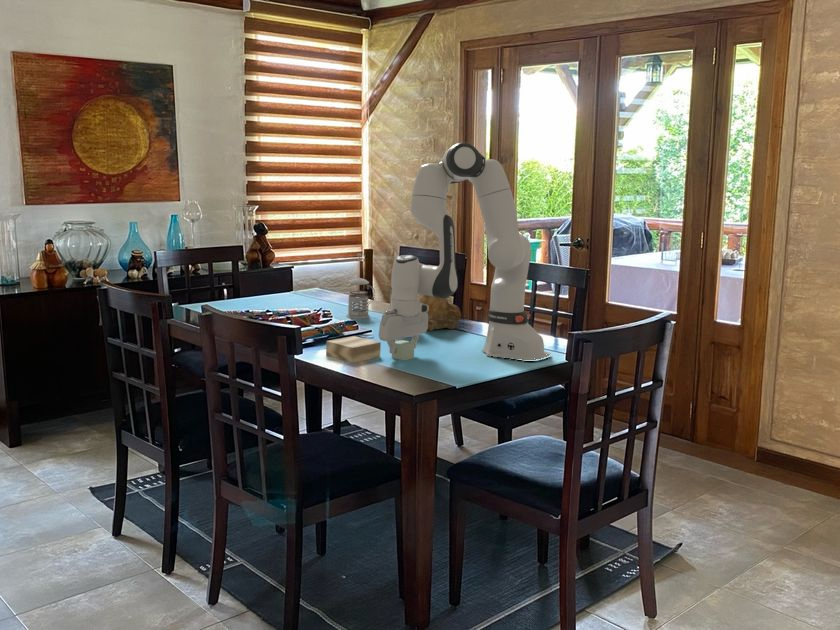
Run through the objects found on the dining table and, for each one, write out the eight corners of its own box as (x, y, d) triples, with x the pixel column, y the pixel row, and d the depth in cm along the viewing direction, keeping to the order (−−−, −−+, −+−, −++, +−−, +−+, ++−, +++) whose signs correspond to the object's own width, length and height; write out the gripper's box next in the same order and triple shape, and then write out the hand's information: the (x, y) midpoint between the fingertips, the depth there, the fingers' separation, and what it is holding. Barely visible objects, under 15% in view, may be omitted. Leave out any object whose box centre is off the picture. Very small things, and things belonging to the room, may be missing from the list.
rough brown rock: (464, 336, 299) (469, 295, 297) (419, 332, 296) (424, 291, 294) (452, 325, 322) (457, 288, 320) (410, 321, 319) (415, 283, 317)
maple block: (380, 357, 260) (380, 342, 259) (352, 363, 251) (352, 347, 250) (353, 351, 267) (354, 336, 266) (326, 356, 259) (326, 341, 258)
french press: (342, 314, 327) (343, 252, 323) (369, 313, 332) (370, 251, 327) (350, 319, 318) (352, 254, 314) (378, 317, 323) (380, 254, 319)
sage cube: (413, 358, 260) (414, 342, 259) (403, 360, 256) (404, 345, 255) (401, 355, 263) (402, 340, 262) (391, 357, 259) (392, 342, 258)
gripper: (390, 313, 247) (388, 358, 249) (432, 305, 262) (430, 347, 265) (374, 310, 250) (373, 354, 253) (416, 302, 266) (415, 344, 269)
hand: (402, 350), depth 259 cm, fingers open, 8 cm apart
